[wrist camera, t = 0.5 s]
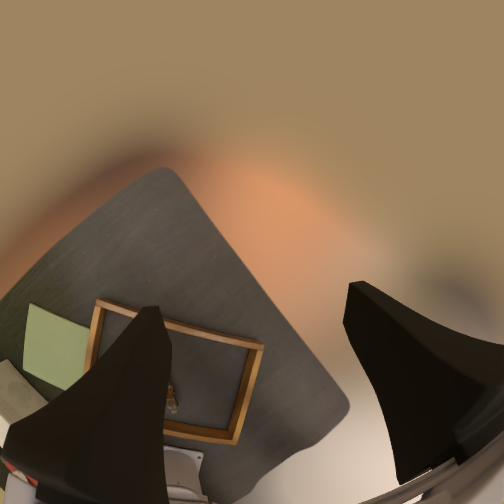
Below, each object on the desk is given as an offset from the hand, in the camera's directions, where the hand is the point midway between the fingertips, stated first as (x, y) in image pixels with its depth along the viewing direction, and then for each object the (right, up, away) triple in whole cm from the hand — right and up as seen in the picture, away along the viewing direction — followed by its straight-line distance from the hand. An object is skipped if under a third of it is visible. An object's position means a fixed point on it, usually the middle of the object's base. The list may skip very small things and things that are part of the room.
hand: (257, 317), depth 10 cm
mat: (-26, -11, +17) cm, 33 cm away
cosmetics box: (-33, -19, +14) cm, 41 cm away
